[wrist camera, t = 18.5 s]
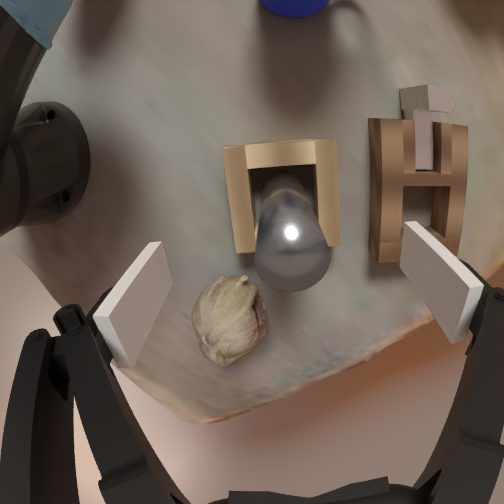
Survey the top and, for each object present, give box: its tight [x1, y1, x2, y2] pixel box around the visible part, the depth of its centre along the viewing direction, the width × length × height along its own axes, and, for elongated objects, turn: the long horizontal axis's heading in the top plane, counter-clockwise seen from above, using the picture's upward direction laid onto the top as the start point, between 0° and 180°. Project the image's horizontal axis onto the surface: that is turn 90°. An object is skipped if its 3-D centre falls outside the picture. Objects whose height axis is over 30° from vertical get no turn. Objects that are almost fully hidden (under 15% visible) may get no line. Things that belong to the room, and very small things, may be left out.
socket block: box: [368, 118, 468, 263], centre depth 26 cm, size 14×10×4 cm
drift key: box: [400, 85, 453, 170], centre depth 22 cm, size 8×3×6 cm, turn 6°
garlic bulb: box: [192, 275, 267, 366], centre depth 31 cm, size 9×8×10 cm
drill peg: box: [254, 171, 330, 292], centre depth 22 cm, size 4×4×15 cm
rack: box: [222, 138, 340, 253], centre depth 28 cm, size 10×10×3 cm
